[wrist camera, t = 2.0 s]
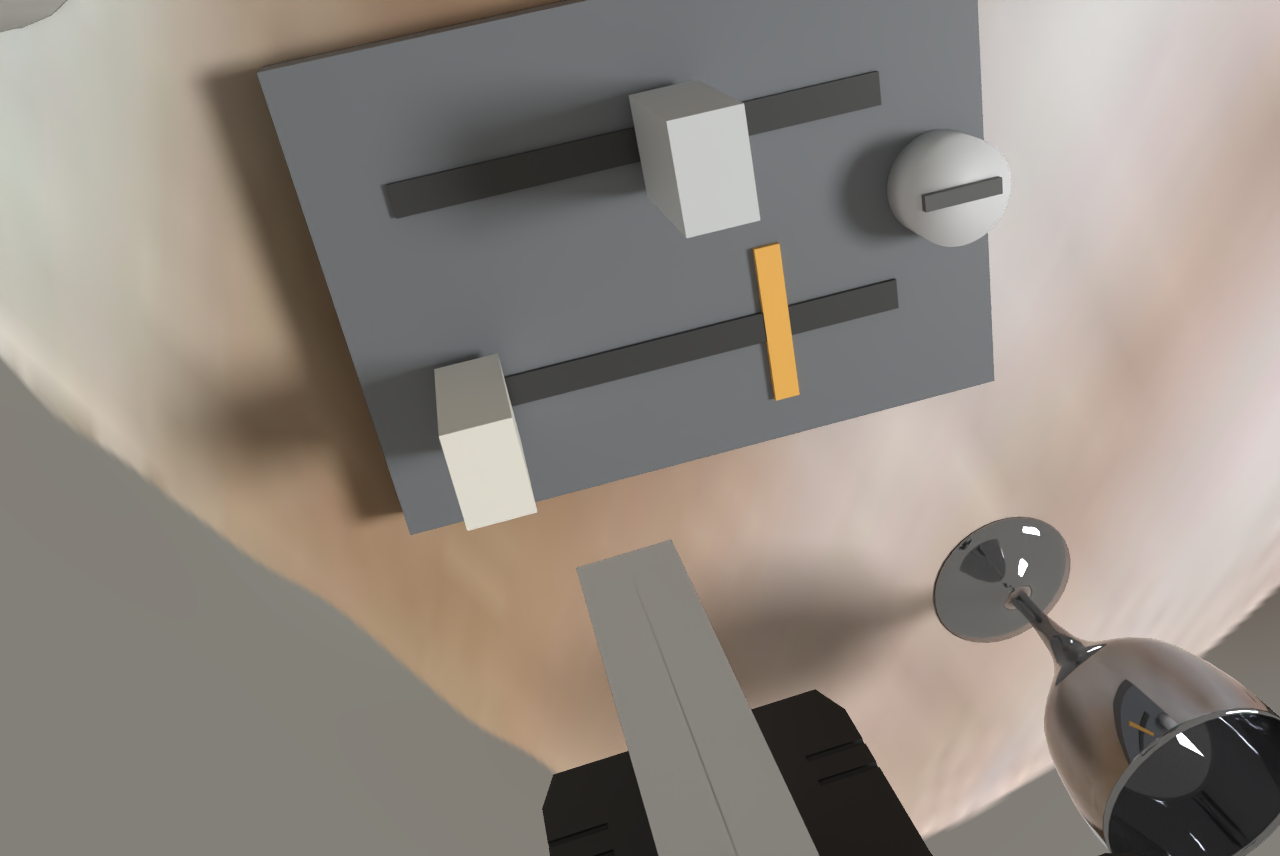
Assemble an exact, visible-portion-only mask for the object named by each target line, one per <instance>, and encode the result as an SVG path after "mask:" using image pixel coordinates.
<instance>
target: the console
mask: <svg viewBox="0 0 1280 856" xmlns="http://www.w3.org/2000/svg"><path fill="white" fill-rule="evenodd" d="M257 75H258V78H259V81H260V84H261V87H262V90H263V93H264V96H265V99H266V102H267V105H268V108H269V111H270V114H271V117H272V120H273V123H274V126H275V129H276V132H277V135H278V138H279V141H280V144H281V147H282V150H283V153H284V156H285V159H286V162H287V165H288V168H289V171H290V174H291V177H292V180H293V183H294V186H295V189H296V192H297V195H298V198H299V201H300V204H301V207H302V210H303V213H304V216H305V219H306V222H307V225H308V228H309V231H310V234H311V237H312V240H313V243H314V246H315V249H316V252H317V255H318V258H319V261H320V264H321V267H322V270H323V273H324V276H325V279H326V282H327V285H328V288H329V291H330V294H331V297H332V300H333V303H334V306H335V309H336V312H337V315H338V318H339V321H340V324H341V327H342V330H343V333H344V336H345V339H346V342H347V345H348V348H349V351H350V354H351V357H352V360H353V363H354V367H355V370H356V373H357V376H358V379H359V382H360V385H361V388H362V391H363V394H364V397H365V400H366V403H367V406H368V409H369V412H370V415H371V418H372V421H373V424H374V427H375V430H376V433H377V436H378V439H379V442H380V445H381V448H382V451H383V454H384V457H385V460H386V463H387V466H388V469H389V472H390V475H391V478H392V481H393V484H394V487H395V490H396V493H397V496H398V499H399V502H400V505H401V508H402V511H403V514H404V517H405V520H406V523H407V526H408V529H409V532H410V535H413V534H416V533H420V532H424V531H428V530H432V529H435V528H439V527H443V526H447V525H450V524H454V523H458V522H462V521H464V518H463V515H462V511H461V508H460V505H459V502H458V498H457V495H456V492H455V488H454V485H453V482H452V479H451V475H450V472H449V469H448V465H447V462H446V459H445V456H444V452H443V449H442V446H441V442H440V439H439V434H438V419H437V405H436V390H435V375H434V369H437V368H441V367H445V366H449V365H453V364H457V363H461V362H465V361H469V360H473V359H477V358H481V357H485V356H489V355H493V354H497V353H498V357H499V360H500V364H501V368H502V372H503V375H504V379H505V383H506V387H507V390H508V394H509V398H510V402H511V405H512V409H513V413H514V416H515V420H516V424H517V428H518V431H519V435H520V439H521V443H522V448H523V452H524V456H525V461H526V465H527V469H528V474H529V478H530V482H531V487H532V491H533V495H534V500H535V502H537V501H541V500H545V499H549V498H553V497H556V496H560V495H564V494H568V493H571V492H575V491H579V490H583V489H587V488H590V487H594V486H598V485H602V484H605V483H609V482H613V481H617V480H621V479H624V478H628V477H632V476H636V475H640V474H643V473H647V472H651V471H655V470H658V469H662V468H666V467H670V466H674V465H677V464H681V463H685V462H689V461H692V460H696V459H700V458H704V457H708V456H711V455H715V454H719V453H723V452H726V451H730V450H734V449H738V448H742V447H745V446H749V445H753V444H757V443H761V442H764V441H768V440H772V439H776V438H779V437H783V436H787V435H791V434H795V433H798V432H802V431H806V430H810V429H813V428H817V427H821V426H825V425H829V424H832V423H836V422H840V421H844V420H847V419H851V418H855V417H859V416H863V415H866V414H870V413H874V412H878V411H882V410H885V409H889V408H893V407H897V406H900V405H904V404H908V403H912V402H916V401H919V400H923V399H927V398H931V397H934V396H938V395H942V394H946V393H950V392H953V391H957V390H961V389H965V388H968V387H972V386H976V385H980V384H984V383H987V382H991V381H994V364H993V341H992V319H991V296H990V273H989V250H988V232H989V231H990V230H991V229H992V228H993V227H994V226H995V224H996V223H997V222H998V221H999V219H1000V218H1001V216H1002V214H1003V212H1004V210H1005V208H1006V206H1007V203H1008V200H1009V197H1010V191H1011V174H1010V170H1009V166H1008V164H1007V161H1006V159H1005V158H1004V156H1003V154H1002V153H1001V152H1000V151H999V150H998V149H997V148H996V147H995V146H994V145H992V144H991V143H989V142H987V141H985V140H984V137H983V114H982V92H981V69H980V46H979V24H978V1H977V0H565V1H561V2H556V3H552V4H547V5H542V6H538V7H533V8H529V9H524V10H520V11H515V12H510V13H506V14H501V15H497V16H492V17H488V18H483V19H478V20H474V21H469V22H465V23H460V24H456V25H451V26H446V27H442V28H437V29H433V30H428V31H424V32H419V33H414V34H410V35H405V36H401V37H396V38H392V39H387V40H382V41H378V42H373V43H369V44H364V45H360V46H355V47H350V48H346V49H341V50H337V51H332V52H328V53H323V54H318V55H314V56H309V57H305V58H300V59H295V60H291V61H286V62H282V63H277V64H273V65H268V66H264V67H263V68H262V69H260V70H259V71H258V72H257ZM692 80H697V81H699V82H701V83H703V84H705V85H707V86H709V87H711V88H713V89H715V90H718V91H720V92H722V93H724V94H726V95H728V96H730V97H732V98H734V99H736V100H738V101H740V102H742V103H744V106H745V113H746V120H747V127H748V135H749V142H750V149H751V156H752V163H753V170H754V177H755V184H756V192H757V199H758V206H759V213H760V221H756V222H752V223H748V224H744V225H740V226H735V227H731V228H727V229H723V230H719V231H715V232H711V233H707V234H703V235H698V236H694V237H690V238H686V237H685V236H684V235H683V234H682V233H681V232H680V231H679V230H678V229H677V228H676V227H675V226H674V225H673V224H672V222H671V221H670V220H669V219H668V218H667V217H666V216H665V215H664V214H663V213H662V212H661V211H660V210H659V209H658V208H657V207H656V206H655V204H654V203H653V202H652V201H651V200H650V199H649V198H648V197H647V192H646V187H645V181H644V176H643V170H642V165H641V160H640V154H639V149H638V144H637V138H636V133H635V128H634V122H633V117H632V111H631V106H630V101H629V95H631V94H635V93H640V92H644V91H649V90H653V89H657V88H662V87H666V86H670V85H675V84H679V83H683V82H688V81H692Z"/></svg>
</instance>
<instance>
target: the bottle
mask: <svg viewBox="0 0 1280 856" xmlns="http://www.w3.org/2000/svg"><path fill="white" fill-rule="evenodd" d="M66 1H67V0H0V32H3V31H7V30H11V29H15V28H23V27H25V26H28V25H30V24H32V23H35V22H37V21H39V20H42V19H44V18H46V17H49V16H51V15H52V14H53V13H55V12H56V11H57V10H58V9H59V8H60V7H61V6H62V5H63V4H64V3H65V2H66Z"/></svg>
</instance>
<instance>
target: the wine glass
mask: <svg viewBox="0 0 1280 856" xmlns="http://www.w3.org/2000/svg"><path fill="white" fill-rule="evenodd" d="M1069 573H1070V555H1069V549H1068V547H1067V544H1066V542H1065V540H1064V538H1063V537H1062V536H1061V534H1060V533H1059V532H1058V531H1057V530H1056V529H1055V528H1054V527H1052V526H1051V525H1049V524H1047V523H1045V522H1043V521H1041V520H1037V519H1034V518H1026V517H1015V518H1007V519H1003V520H999V521H995V522H993V523H990V524H988V525H986V526H983V527H982V528H980V529H978V530H977V531H975V532H973V533H972V534H970V535H969V536H968V537H967V538H965V539H964V540H963V541H962V542H961V543H960V544H959V545H958V546H957V547H956V548H955V549H954V550H953V551H952V552H951V554H950V555H949V557H948V558H947V559H946V561H945V563H944V564H943V566H942V568H941V570H940V572H939V575H938V578H937V581H936V586H935V593H934V597H935V607H936V611H937V614H938V616H939V618H940V620H941V622H942V623H943V624H944V626H945V627H946V628H947V629H948V630H949V631H951V632H952V633H953V634H955V635H956V636H958V637H961V638H963V639H965V640H969V641H973V642H983V643H989V642H998V641H1002V640H1006V639H1009V638H1012V637H1014V636H1017V635H1019V634H1021V633H1023V632H1025V631H1027V630H1028V629H1030V628H1032V627H1033V628H1034V629H1035V630H1036V632H1037V633H1038V635H1039V636H1040V638H1041V639H1042V640H1043V642H1044V644H1045V645H1046V647H1047V648H1048V650H1049V652H1050V654H1051V656H1052V658H1053V662H1054V668H1055V670H1054V677H1053V681H1052V684H1051V687H1050V691H1049V694H1048V697H1047V702H1046V707H1045V717H1044V731H1045V736H1046V740H1047V744H1048V748H1049V752H1050V755H1051V757H1052V760H1053V762H1054V764H1055V767H1056V769H1057V772H1058V774H1059V776H1060V778H1061V780H1062V782H1063V784H1064V785H1065V788H1066V789H1067V791H1068V793H1069V795H1070V797H1071V799H1072V801H1073V802H1074V804H1075V806H1076V808H1077V809H1078V811H1079V812H1080V814H1081V815H1082V817H1083V818H1084V820H1085V821H1086V822H1087V824H1088V825H1089V827H1090V828H1091V830H1092V831H1093V832H1094V834H1095V835H1096V837H1097V838H1098V839H1099V840H1100V842H1101V843H1102V844H1103V846H1104V847H1105V848H1106V849H1107V850H1108V852H1109V853H1129V852H1133V853H1137V854H1141V855H1145V856H1246V855H1247V854H1248V853H1250V852H1251V851H1253V850H1254V849H1255V848H1257V847H1258V846H1259V845H1260V844H1261V843H1262V842H1263V841H1265V840H1266V839H1267V838H1268V837H1269V836H1270V835H1271V834H1272V833H1273V832H1274V831H1275V830H1276V828H1277V827H1278V826H1279V825H1280V716H1279V715H1277V714H1276V713H1275V712H1274V711H1273V710H1272V709H1271V708H1270V707H1268V706H1267V705H1266V704H1265V703H1264V702H1263V701H1261V700H1260V699H1259V698H1258V697H1257V696H1255V695H1254V694H1253V693H1252V692H1250V691H1249V690H1248V689H1247V688H1245V687H1244V686H1243V685H1241V684H1240V683H1239V682H1238V681H1236V680H1235V679H1234V678H1232V677H1231V676H1229V675H1228V674H1226V673H1225V672H1223V671H1222V670H1220V669H1218V668H1217V667H1215V666H1214V665H1212V664H1211V663H1209V662H1207V661H1205V660H1203V659H1201V658H1199V657H1197V656H1196V655H1194V654H1192V653H1190V652H1188V651H1186V650H1184V649H1182V648H1180V647H1178V646H1175V645H1172V644H1169V643H1167V642H1164V641H1160V640H1156V639H1152V638H1132V637H1126V638H1118V639H1110V640H1103V641H1086V640H1082V639H1079V638H1077V637H1075V636H1073V635H1072V634H1070V633H1069V632H1067V631H1066V630H1065V629H1063V628H1062V627H1061V626H1059V625H1058V624H1057V623H1056V622H1054V621H1053V620H1052V619H1051V618H1049V617H1048V616H1047V614H1048V613H1049V612H1050V611H1051V610H1052V609H1053V607H1054V606H1055V605H1056V603H1057V602H1058V601H1059V599H1060V597H1061V595H1062V594H1063V592H1064V590H1065V587H1066V584H1067V582H1068V578H1069Z"/></svg>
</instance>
